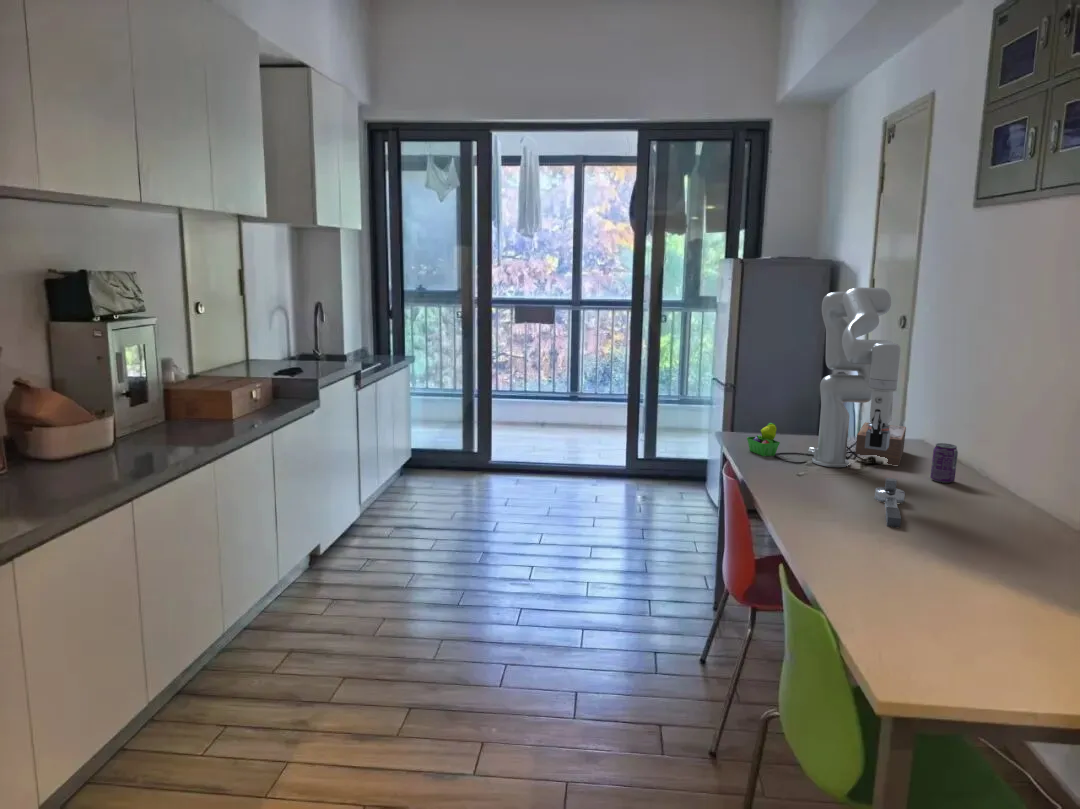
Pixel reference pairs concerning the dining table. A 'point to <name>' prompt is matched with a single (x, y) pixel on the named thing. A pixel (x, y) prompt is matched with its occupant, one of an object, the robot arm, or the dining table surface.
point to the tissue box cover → (895, 444)
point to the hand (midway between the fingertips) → (877, 444)
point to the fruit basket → (764, 441)
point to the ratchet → (891, 501)
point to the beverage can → (944, 463)
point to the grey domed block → (885, 437)
